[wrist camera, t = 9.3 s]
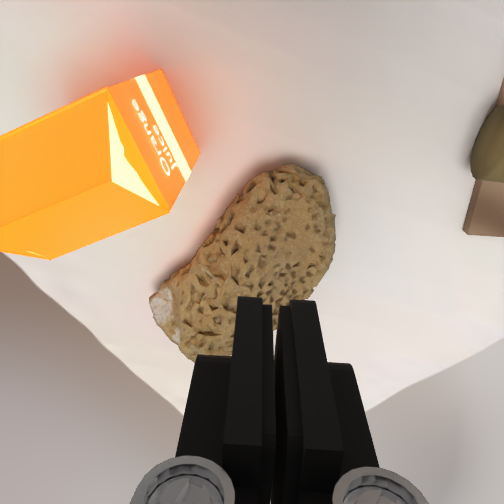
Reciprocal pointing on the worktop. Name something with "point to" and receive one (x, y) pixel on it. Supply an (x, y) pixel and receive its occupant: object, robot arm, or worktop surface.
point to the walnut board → (486, 204)
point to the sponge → (250, 260)
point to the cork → (490, 149)
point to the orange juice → (93, 168)
